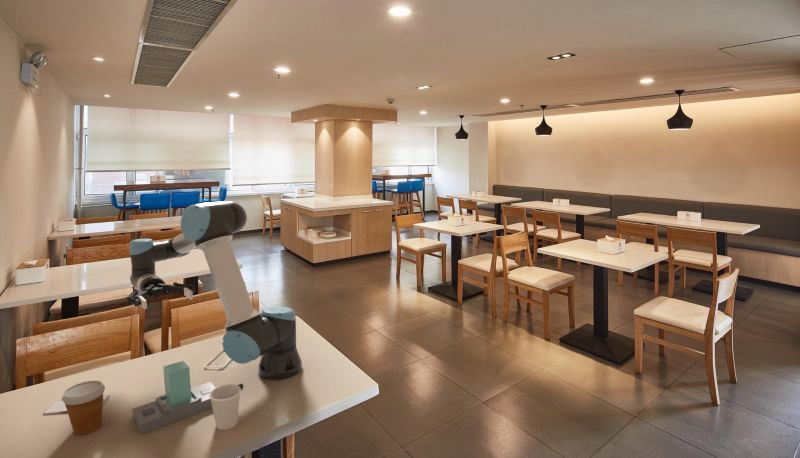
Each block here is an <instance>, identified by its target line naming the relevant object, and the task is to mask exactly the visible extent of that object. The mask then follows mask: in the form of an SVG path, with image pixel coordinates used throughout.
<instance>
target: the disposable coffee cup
mask: <svg viewBox="0 0 800 458" xmlns="http://www.w3.org/2000/svg"><path fill="white" fill-rule="evenodd" d="M105 390H106V386H105V385H104V383H103V382H102V381H100V380H87V381H82V382H79V383H76V384H74V385H71V386H70V387H68V388H66V390H65V391H63V395H62V397H61V400H62V401H63V402H64V403H65V405H66V409H67V412H68V413H67V416H68V418H69V421H70V424H71V428H72V431H73V434H74V435H77V436H83V435H84V436H85V435H88V434H91V433H93V432H95V431H97V430H99V428H101V427H102V424H103V407H104V405H103V395H104V393H105Z"/></svg>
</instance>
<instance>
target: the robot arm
mask: <svg viewBox="0 0 800 458" xmlns="http://www.w3.org/2000/svg"><path fill="white" fill-rule="evenodd" d="M181 215H182V216H181V218H180V230H181V233H180V234H179V235H176V236H174V237H172V238H171V239H167V240H166V239H165V240H162V241H154V240H153V239H152V238H137V239H133V240H131V241H130V242H129V255H130V263H131V274H130V276H129V277H130V278H129V280H130V284H131V285H132V286H133V287H134V289H132V291H131V292H130V293H129V294H128V296H127V297H126V302H127V303H126V304H127V306H131V305H134V307H139V306H141V308H142V309H144V310H147V309H148V305H147V299H148V300H149V299H157V298H160V297H161V296H166V295H167V296H169V295H174V294H175V295H184V296H185V298H187V299H188V300H190V301H191V300H194V294H193V293H195V285H193V284H188V283H187V284H185V283H179V282H176V281H175V282H172V284H166V283H165V281H164V280H163V279H161V278H160V277H159V276H157V274H156V263H157V262H162V261H166V260H172V259H177V258H182V257H185V256H188V255H189V254H190V252H191V251H193V250H195V249H198V250H200V251H202V252H203V254H204V257H205V260H206V263H207V266H208V269H209V272H210V274H211V276H212V279H213V282H214V285H215V288H216V292H217V293H218V297H219V299H220V302H221V305H222V308H223V310H224V314H225V316H226V319H227V320H226V321H227V322H225V324H224V325H225V326H224V328H225V332H226V333H224V335H223V336H222V342H221V344H222V349H224V351H223V352H224V353H225V355H226V356H227V357H228V358H229V360H230V359H231V360H232V361H234V363H237V364H239V365H240V364H241V365H243V364H244V365H245V364H247V363H250V362H252V361H255V360H258V359H259V358H260V360H259V363H258V374H259V376H260V377H262V378H264V379H267V380H283V379H284V380H285V379H288V378H290V377H293V376H296V375H297V374H299V373H300V372H301V370H302V368H303V363H302V359H301V356H300V353H299V350H298V348H297V319H296V312H295V310H294V309H292V308H290V307H286V306H270V307H266V308H263V309H262V310H261V312H260V311H258V310H256V309H255V308H254V305H253V303H252V299H251V298H250V295H249V292H248V289H247V286H246V283H245V281H244V278H243V275H242V272H241V269H240V267H239V263H238V261H237V257H236V256H235V253H234V249H233V247H232V245H231V242H232V239H233V238H234V236H233V235H234V234H235V233H239V232H240V231H241V230H242V229H244V227H245V226H246V223H247V219H248V217H247V216H248V215H247V213H246V210H245V209H244V207H243V206H241V204H239V203H237V202H235V201H232V200H231V201H230V200H227V201H226V200H225V201H213V202H210V201H209V202H200V203H196V204H191V205H189V206H187V207H186V208H185V209H184V210H183V212H182V214H181Z"/></svg>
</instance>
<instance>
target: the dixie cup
mask: <svg viewBox="0 0 800 458" xmlns="http://www.w3.org/2000/svg"><path fill="white" fill-rule="evenodd" d="M237 385H238V384H234V383H233V384H230V383H229V384H222V385H219V386H217V387H216V388H215V389H213V390H212V391H211V392H210V394H209V397H210V399H211V404H212V407H211V408H212V412H213V413H212V414H213V418H214V422H215V427H216V429H218V430H219V431H227V430H231V429H232V428H234V427H235V426H237V424H238V418H239V411H240V410H239V407H240V399H241V398H240V396H241V391H242V387H241V388H240V387H239V386H237Z"/></svg>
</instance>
